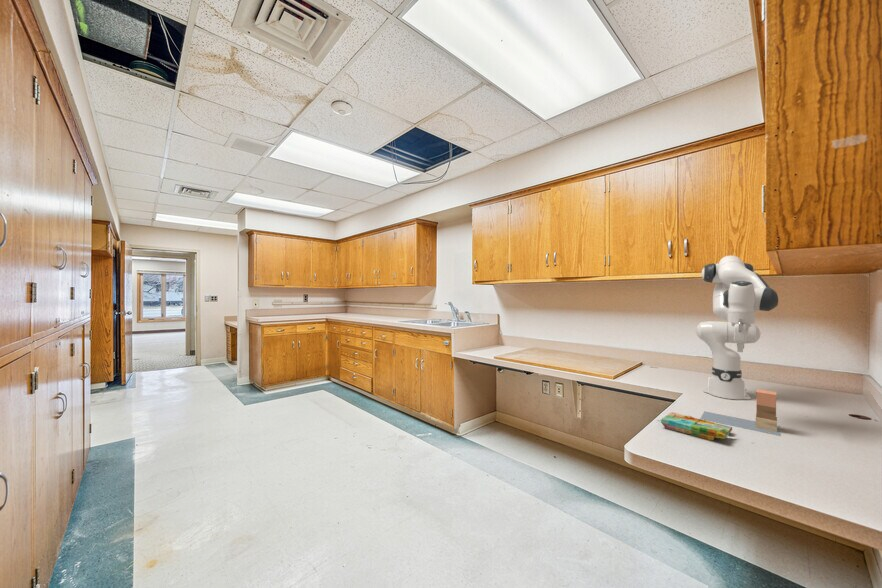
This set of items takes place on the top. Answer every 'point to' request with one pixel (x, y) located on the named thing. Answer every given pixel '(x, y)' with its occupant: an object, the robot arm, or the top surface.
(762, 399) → the terracotta block
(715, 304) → the robot arm
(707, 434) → the puzzle game
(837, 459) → the top surface
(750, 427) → the baseplate
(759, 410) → the walnut block
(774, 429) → the oak brick
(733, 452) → the top surface
